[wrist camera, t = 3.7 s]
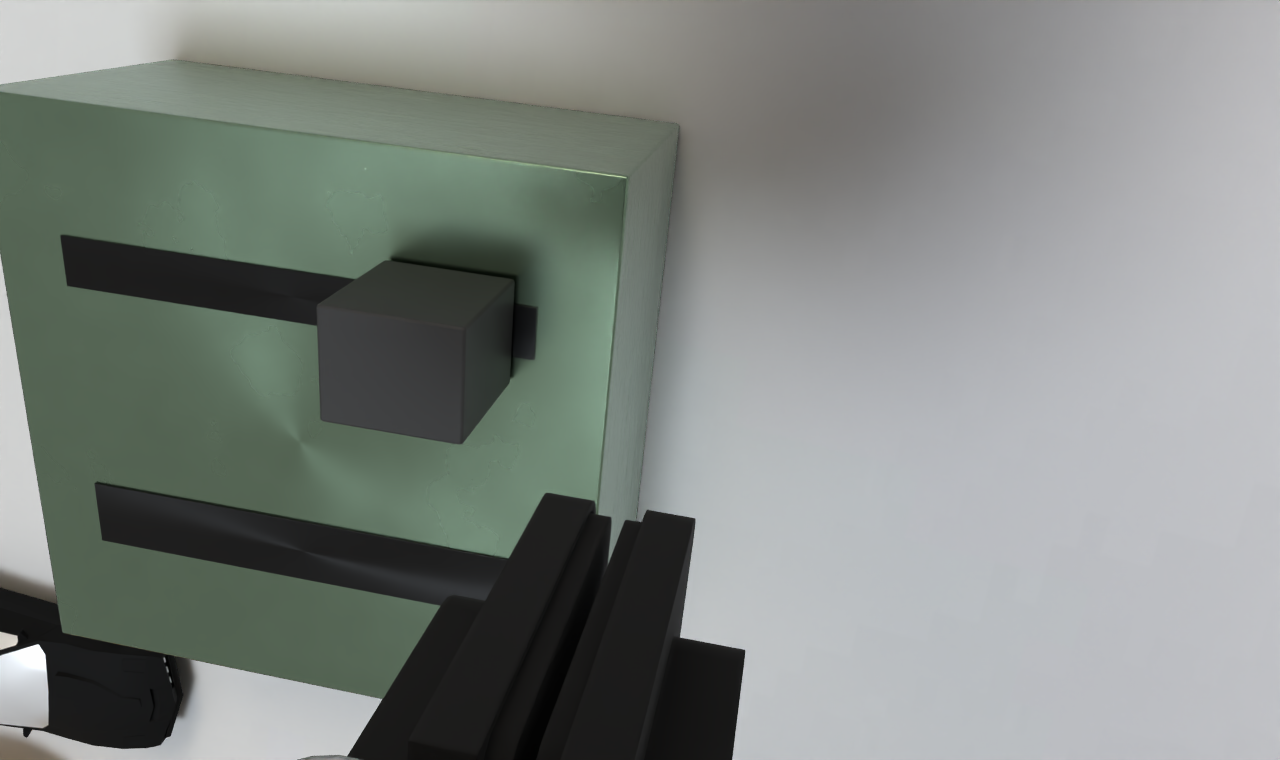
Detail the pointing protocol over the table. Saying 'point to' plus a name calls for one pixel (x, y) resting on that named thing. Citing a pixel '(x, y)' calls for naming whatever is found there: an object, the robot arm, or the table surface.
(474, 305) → the slider
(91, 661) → the toy car
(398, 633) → the toaster
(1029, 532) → the table surface
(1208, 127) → the table surface
